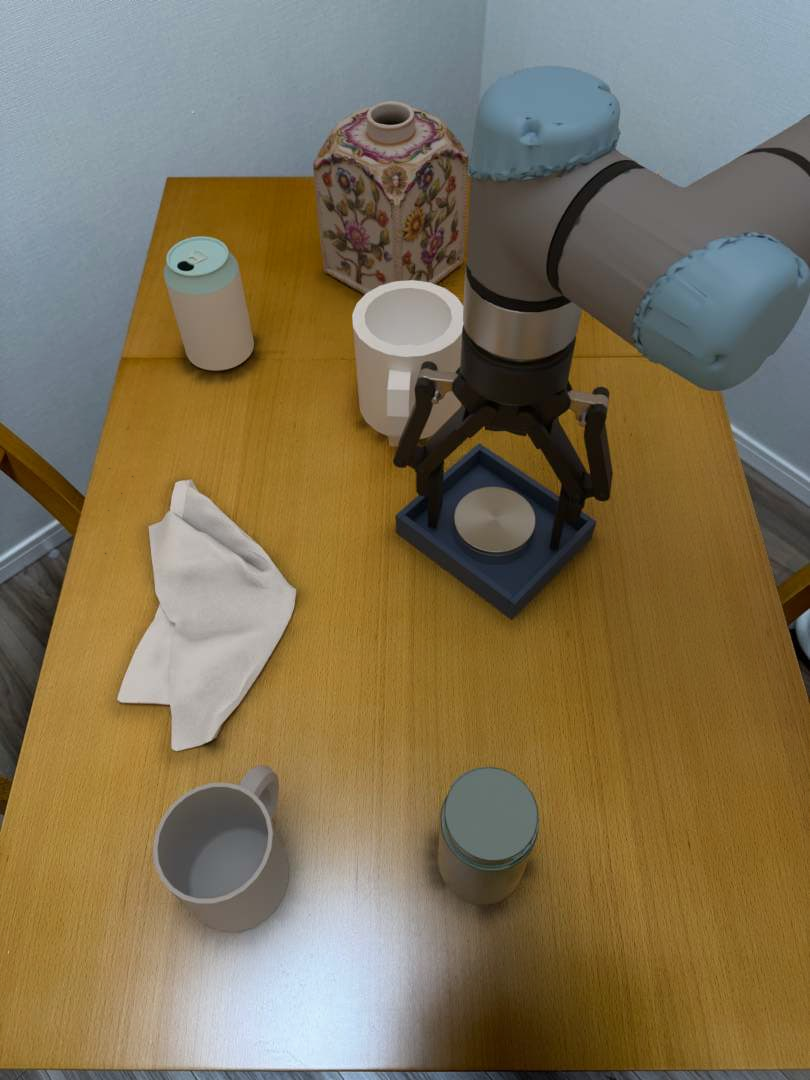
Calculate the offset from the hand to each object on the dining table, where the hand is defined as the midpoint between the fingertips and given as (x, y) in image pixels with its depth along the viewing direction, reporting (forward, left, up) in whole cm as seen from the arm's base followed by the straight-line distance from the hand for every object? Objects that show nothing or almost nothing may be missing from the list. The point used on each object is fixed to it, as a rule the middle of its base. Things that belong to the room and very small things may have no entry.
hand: (494, 525), depth 74 cm
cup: (-5, +33, -2) cm, 33 cm away
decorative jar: (+32, -21, -2) cm, 38 cm away
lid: (0, 0, +1) cm, 1 cm away
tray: (0, 0, -1) cm, 1 cm away
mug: (+16, -6, -2) cm, 17 cm away
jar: (-17, +22, -1) cm, 28 cm away
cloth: (+13, +21, -2) cm, 25 cm away
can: (+36, +1, -2) cm, 36 cm away
